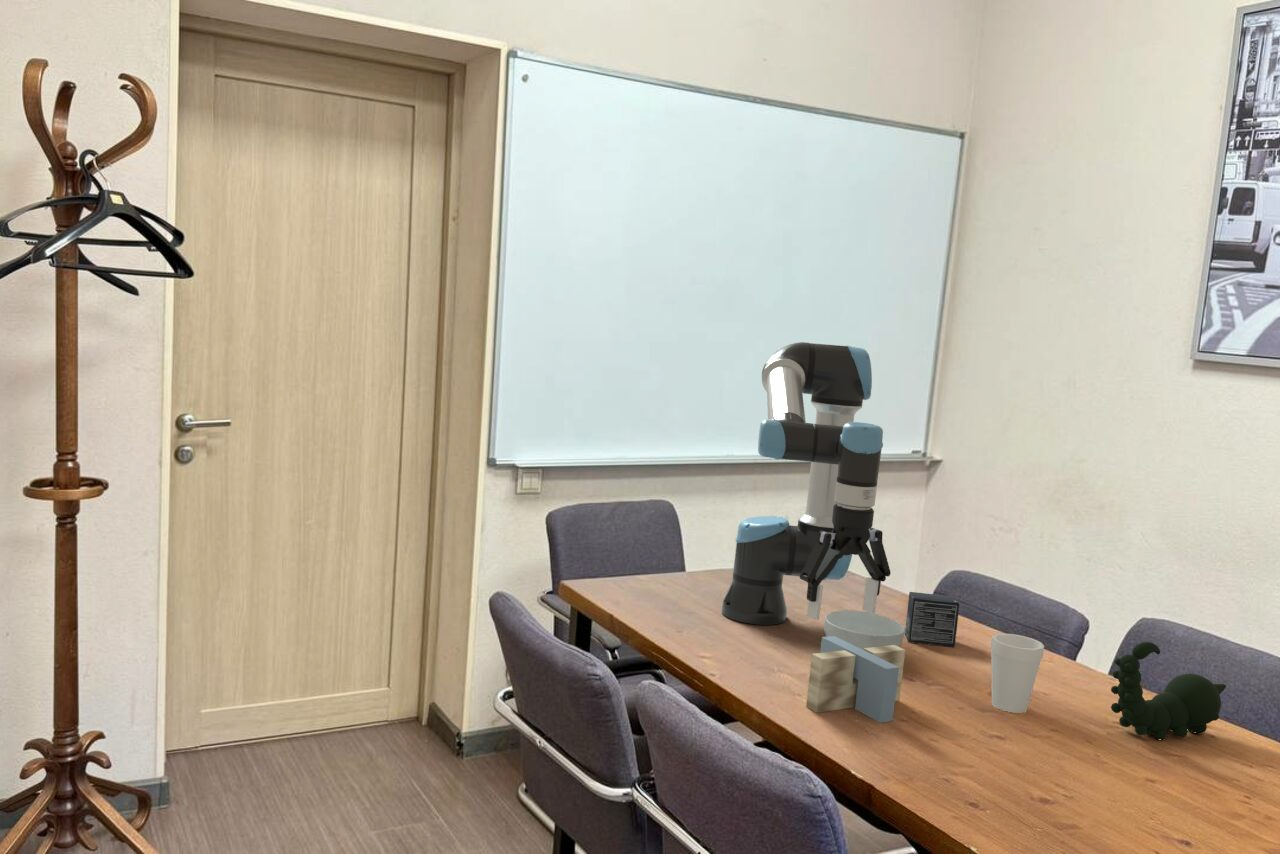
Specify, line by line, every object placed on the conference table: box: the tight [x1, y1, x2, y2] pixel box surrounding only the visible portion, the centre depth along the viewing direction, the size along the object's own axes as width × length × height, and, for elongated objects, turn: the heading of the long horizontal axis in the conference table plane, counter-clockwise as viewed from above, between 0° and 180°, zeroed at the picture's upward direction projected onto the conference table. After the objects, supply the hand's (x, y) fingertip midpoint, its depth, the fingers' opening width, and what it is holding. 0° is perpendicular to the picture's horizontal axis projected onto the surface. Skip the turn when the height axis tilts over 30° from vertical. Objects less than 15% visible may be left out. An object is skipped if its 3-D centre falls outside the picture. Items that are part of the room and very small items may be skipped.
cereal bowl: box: [823, 609, 906, 650], centre depth 230 cm, size 17×17×7 cm
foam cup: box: [989, 633, 1045, 714], centre depth 205 cm, size 10×9×13 cm
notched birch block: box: [805, 645, 906, 714], centre depth 199 cm, size 20×3×10 cm, turn 120°
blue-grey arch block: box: [819, 636, 899, 724], centre depth 199 cm, size 18×3×10 cm, turn 30°
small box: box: [904, 591, 961, 648], centre depth 244 cm, size 11×6×10 cm, turn 84°
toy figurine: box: [1110, 641, 1227, 741], centre depth 198 cm, size 9×19×25 cm
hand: (841, 614), depth 204 cm, fingers open, 13 cm apart
